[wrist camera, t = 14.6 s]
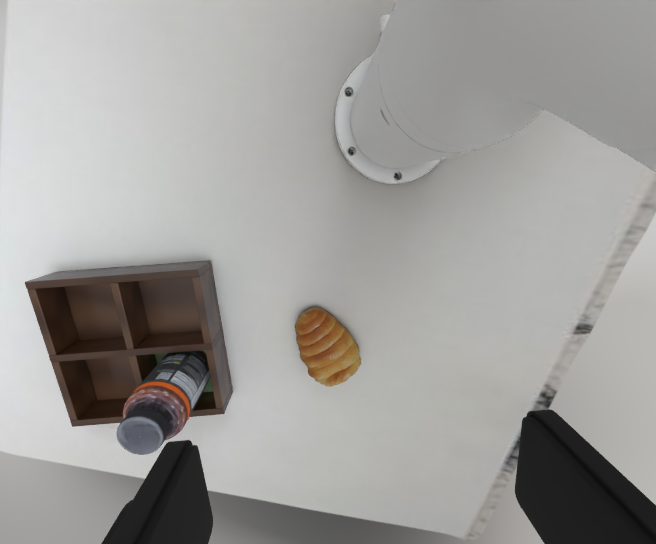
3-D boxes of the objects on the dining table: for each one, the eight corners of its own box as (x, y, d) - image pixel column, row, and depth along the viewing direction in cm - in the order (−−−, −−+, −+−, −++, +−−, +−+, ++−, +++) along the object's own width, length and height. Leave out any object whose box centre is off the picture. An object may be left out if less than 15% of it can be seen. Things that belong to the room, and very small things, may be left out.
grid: (56, 271, 36) (24, 282, 32) (211, 260, 36) (197, 269, 32) (96, 403, 40) (72, 426, 36) (233, 392, 40) (224, 414, 36)
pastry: (281, 320, 38) (278, 334, 34) (330, 295, 38) (332, 306, 34) (318, 379, 40) (319, 398, 37) (365, 356, 40) (370, 373, 36)
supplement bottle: (179, 394, 39) (127, 474, 28) (154, 356, 38) (88, 423, 27) (222, 377, 39) (185, 450, 28) (198, 337, 37) (149, 398, 26)
